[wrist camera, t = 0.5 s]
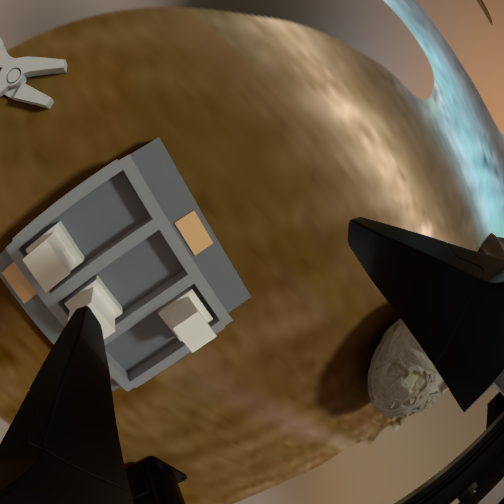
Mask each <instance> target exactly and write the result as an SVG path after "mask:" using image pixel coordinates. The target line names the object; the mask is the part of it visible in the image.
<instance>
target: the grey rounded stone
mask: <svg viewBox="0 0 504 504" xmlns="http://www.w3.org/2000/svg"><path fill="white" fill-rule="evenodd" d="M368 371H369V372H368V395H369V397H370V400H371V403H372V405H373V406H374V408H375V409H376V410H377V411H378V412H380V413H382V414H383V415H387V416H388V417H390V418H391V419H392V418H393V417H395V416H398V417H408V416H411V415H413V414H415V413H418V412H421V411H423V410H425V409H427V408H429V406H431V405H432V404H433V403H435V402H436V400H437V399H438V398H440V397H441V396H442V395H443V393H444V392H445V391H446V390H449V388H448V387H447V385H446V384H445V382H444V381H443V379H442V378H441V376H440V374H439V373H438V371H437V370H436V368H435V366H434V365H433V364H432V362H431V361H430V359H429V358H428V356H427V355H426V353H425V352H424V351H423V349H422V348H421V346H420V345H419V343H418V342H417V341H416V339H415V338H414V336H413V335H412V333H411V332H410V331H409V329H408V328H407V327H406V325H405V324H404V322H403V321H402V320H401V318H400V319H399V320H398V321H397V322H395V323H394V324H393V325H392V326H391V327H390V328H388V329H387V331H386V332H385V333H384V335H383V337H382V339H381V342H380V344H379V345H378V346H377V348H376V349H375V351H374V354H373V356H372V359H371V364H370V368H369V370H368Z"/></svg>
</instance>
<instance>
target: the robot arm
mask: <svg viewBox="0 0 504 504" xmlns="http://www.w3.org/2000/svg"><path fill="white" fill-rule="evenodd" d="M348 243H349V246H350V247H351V249H352V251H353V252H354V254H355V255H356V257H357V258H358V260H359V261H360V263H361V265H362V266H363V268H364V269H365V271H366V273H367V274H368V276H369V277H370V278H371V280H372V281H373V283H374V284H375V285H376V286H377V288H378V289H379V290H380V292H381V293H382V294H383V296H384V297H385V298H386V299H387V301H388V302H389V303H390V305H391V306H392V307H393V309H394V310H395V311H396V313H397V314H398V316H399V317H400V318H401V320H402V321H403V322H404V324H405V325H406V327H407V328H408V329H409V331H410V332H411V333H412V335H413V336H414V338H415V339H416V341H417V342H418V343H419V345H420V346H421V348H422V349H423V351H424V352H425V353H426V355H427V356H428V358H429V359H430V361H431V362H432V364H433V365H434V366H435V368H436V370H437V371H438V373H439V374H440V376H441V378H442V379H443V381H444V382H445V384H446V385H447V387H448V388H449V390H450V391H451V393H452V395H453V396H454V398H455V399H456V401H457V403H458V404H459V406H460V407H461V409H462V410H463V411H464V412H465V411H466V410H467V409H469V407H471V406H472V405H473V404H474V403H475V402H476V401H477V400H478V399H479V398H480V397H481V396H482V395H483V394H484V393H485V392H486V391H487V390H488V389H489V388H490V387H491V386H492V385H493V384H494V385H495V386H496V387H497V389H498V390H499V392H498V394H497V395H496V396H495V397H494V398H493V399H492V400H491V401H490V402H489V403H488V410H487V427H486V430H485V431H484V432H483V433H482V434H481V435H480V436H479V437H478V438H477V439H476V440H475V441H474V442H473V443H472V444H471V445H470V446H469V447H468V448H467V449H465V450H464V451H463V452H462V453H461V454H460V455H459V456H458V457H456V458H455V459H454V460H453V461H452V462H451V463H450V464H448V465H447V466H446V467H445V468H443V469H442V470H441V471H440V472H438V473H437V474H436V475H434V476H433V477H432V478H431V479H429V480H428V481H427V482H425V483H424V484H423V485H421V486H420V487H418V488H417V489H415V490H414V491H413V492H411V493H410V494H408V495H407V496H405V497H404V498H402V499H401V500H399V501H398V502H396V503H395V504H450V503H451V502H453V501H454V500H455V499H456V498H458V500H459V501H460V503H458V504H504V259H501V258H497V257H494V256H490V255H486V254H483V253H479V252H476V251H472V250H469V249H466V248H462V247H459V246H456V245H453V244H450V243H446V242H444V241H441V240H437V239H434V238H431V237H428V236H425V235H421V234H418V233H415V232H412V231H408V230H405V229H401V228H398V227H395V226H391V225H388V224H384V223H381V222H377V221H373V220H370V219H366V218H363V217H358V218H354V219H352V220H350V222H349V229H348ZM29 390H30V391H28V393H27V395H26V397H25V399H24V401H23V403H22V405H21V407H20V409H19V411H18V413H17V414H16V416H15V418H14V420H13V422H12V423H11V425H10V427H9V429H8V431H7V433H6V434H5V437H4V438H3V440H2V442H1V444H0V504H186V503H185V501H184V498H183V496H182V493H181V491H180V488H179V485H178V483H180V482H182V481H184V480H186V479H187V476H186V475H185V474H184V473H182V472H180V471H178V470H177V469H175V468H173V467H171V466H170V465H168V464H166V463H165V462H163V461H161V460H160V459H158V458H156V457H150V458H148V459H147V460H145V461H143V462H141V463H139V464H137V465H135V466H133V467H131V468H129V469H127V470H125V466H124V462H123V457H122V452H121V447H120V442H119V436H118V431H117V425H116V418H115V412H114V405H113V397H112V389H111V380H110V371H109V365H108V360H107V355H106V350H105V344H104V339H103V333H102V328H101V325H100V323H99V321H98V319H97V318H96V316H95V315H94V313H93V312H92V310H91V309H90V307H88V306H83V307H80V308H77V309H76V310H75V311H74V313H73V315H72V316H71V318H70V319H69V321H68V323H67V324H66V326H65V327H64V329H63V331H62V332H61V334H60V336H59V337H58V339H57V341H56V342H55V344H54V346H53V347H52V349H51V351H50V352H49V354H48V356H47V358H46V359H45V361H44V363H43V365H42V367H41V368H40V370H39V372H38V374H37V376H36V378H35V380H34V381H33V383H32V385H31V387H30V389H29Z"/></svg>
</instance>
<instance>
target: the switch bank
mask: <svg viewBox="0 0 504 504" xmlns="http://www.w3.org/2000/svg"><path fill="white" fill-rule="evenodd" d="M59 221H61V222H62V224H63V225H64V227H65V228H66V230H67V231H68V233H69V234H70V236H71V238H72V239H73V241H74V242H75V244H76V245H77V247H78V248H79V249H80V251H81V252H82V254H83V255H84V257H85V258H84V261H83V262H82V263H80V264H79V265H78V266H76V267H75V268H74V269H72V270H71V272H70V274H69V275H68V276H66V277H65V278H64V279H63V280H61V281H60V282H59V283H58V284H56V285H55V286H54V287H53V288H51V289H50V290H49V291H48V292H45V291H44V289H43V288H42V287H41V285H40V284H39V283H38V281H37V280H36V279H35V277H34V276H33V274H32V273H31V272H30V270H29V269H28V267H27V266H26V264H25V263H24V261H23V259H24V257H25V256H26V255H27V254H28V253H27V252H26V249H27V248H28V247H29V246H30V245H31V244H32V243H34V242H35V241H36V240H37V239H38V238H40V237H41V236H42V235H43V234H44V233H46V232H47V231H48V230H49V229H51V228H52V227H53V226H54V225H56V224H57V223H58V222H59ZM12 240H13V241H12V242H11V243H10V244H9V245H8V246H7V247H6V249H5V250H4V251H3V252H1V253H0V278H1V279H2V280H3V282H4V283H5V285H6V286H7V288H8V289H9V290H10V292H11V293H12V294H13V296H14V297H15V298H16V300H17V301H18V302H19V304H20V305H21V306H22V308H23V309H24V310H25V311H26V313H27V314H28V315H29V316H30V318H31V319H32V320H33V321H34V323H35V324H36V325H37V326H38V327H39V328H40V330H41V331H42V332H43V333H44V334H45V335H46V337H47V338H48V339H49V340H50V341H51V342H52V343H53V344H55V342H56V341H57V339H58V337H59V336H60V334H61V332H62V331H63V329H64V327H65V326H66V324H67V323H68V316H69V312H70V310H69V309H68V308H67V307H66V305H65V304H64V303H65V300H66V298H67V297H68V296H69V295H71V294H72V293H73V292H75V291H76V290H77V289H79V288H80V287H81V286H83V285H84V284H85V283H87V282H88V281H89V280H91V279H92V278H93V277H95V276H96V275H98V276H99V278H100V279H101V280H102V282H103V283H104V284H105V286H106V287H107V288H108V290H109V291H110V292H111V294H112V295H113V296H114V298H115V299H116V300H117V301H118V303H119V304H120V305H121V306H122V311H123V313H122V314H121V315H119V316H118V317H117V318H115V332H114V333H112V334H111V335H109V336H108V337H107V338H105V339H104V344H105V350H106V355H107V360H108V365H109V371H110V380H111V389H112V392H113V391H114V390H116V389H117V388H119V387H120V386H122V387H123V388H124V389H125V390H126V391H127V392H128V391H130V390H131V389H133V388H134V387H135V388H137V387H139V386H140V385H142V384H143V383H145V382H146V381H148V380H149V379H151V378H152V377H154V376H155V375H157V374H158V373H160V372H161V371H163V370H164V369H166V368H167V367H169V366H170V365H172V364H173V363H175V362H176V361H178V360H179V359H181V358H182V357H184V356H185V355H187V354H188V353H190V352H191V350H190V349H189V348H188V347H187V346H186V344H185V343H184V342H183V341H180V340H179V339H178V338H177V336H176V335H175V334H174V333H173V332H172V330H171V329H170V328H169V327H168V325H167V324H166V323H165V322H164V320H163V319H162V318H161V317H160V315H159V314H158V313H157V309H158V308H159V307H161V306H162V305H164V304H165V303H167V302H168V301H170V300H171V299H172V298H174V297H175V296H177V295H178V294H180V293H181V292H183V291H184V290H185V289H187V288H188V287H191V288H192V290H193V291H194V292H195V294H196V295H197V297H198V298H199V300H200V301H201V302H202V304H203V305H204V307H205V308H206V310H207V311H208V312H209V314H210V315H211V317H212V318H213V320H211V321H210V322H209V323H208V324H209V326H210V327H211V329H212V330H213V332H214V333H215V334H217V333H218V332H220V331H221V330H223V329H224V328H225V327H224V326H226V325H227V324H228V323H230V322H231V321H233V320H232V318H231V317H230V315H229V314H228V313H229V312H230V311H232V310H233V309H235V308H236V307H237V306H239V305H240V304H242V303H243V302H244V301H246V300H247V299H249V298H250V297H251V296H250V294H249V292H248V291H247V289H246V287H245V286H244V284H243V282H242V281H241V279H240V277H239V276H238V274H237V272H236V271H235V269H234V267H233V265H232V264H231V262H230V260H229V259H228V257H227V255H226V254H225V252H224V250H223V248H222V247H221V245H220V243H219V242H218V240H217V238H216V236H215V235H214V233H213V231H212V229H211V228H210V226H209V224H208V223H207V221H206V219H205V217H204V216H203V214H202V212H201V210H200V209H199V207H198V205H197V203H196V202H195V200H194V198H193V196H192V195H191V193H190V191H189V189H188V187H187V186H186V184H185V182H184V180H183V179H182V177H181V175H180V173H179V172H178V170H177V168H176V166H175V164H174V163H173V161H172V159H171V157H170V155H169V154H168V152H167V150H166V148H165V146H164V145H163V143H162V141H161V139H160V137H159V138H157V139H155V140H153V141H152V142H150V143H148V144H146V145H145V146H143V147H141V148H140V149H138V150H136V151H135V152H133V153H132V154H129V155H127V156H125V157H124V158H122V159H121V160H119V161H118V160H117V159H116V160H115V161H113V162H112V163H110V164H109V165H107V166H106V167H104V168H103V169H101V170H100V171H98V172H97V173H95V174H94V175H92V176H91V177H89V178H88V179H86V180H85V181H84V182H82V183H81V184H79V185H78V186H77V187H75V188H74V189H73V190H71V191H70V192H69V193H67V194H66V195H65V196H63V197H62V198H61V199H59V200H58V201H57V202H55V203H54V204H53V205H52V206H50V207H49V208H48V209H46V210H45V211H44V212H43V213H42V214H40V215H39V216H38V217H37V218H35V219H34V220H33V221H32V222H31V223H30V224H28V225H27V226H26V227H25V228H24V229H23V230H21V231H20V232H19V233H18V234H17V235H16V236H15V237H14V238H12Z"/></svg>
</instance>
